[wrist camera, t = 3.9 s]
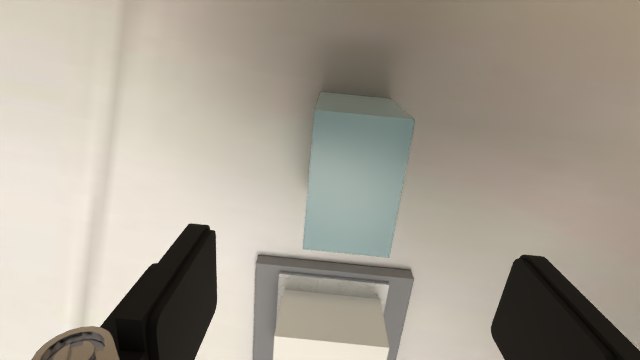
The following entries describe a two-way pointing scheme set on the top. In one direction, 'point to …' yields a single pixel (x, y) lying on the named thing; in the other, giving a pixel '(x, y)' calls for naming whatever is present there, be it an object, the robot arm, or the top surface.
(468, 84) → the top surface
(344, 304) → the block
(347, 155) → the block
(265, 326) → the board
